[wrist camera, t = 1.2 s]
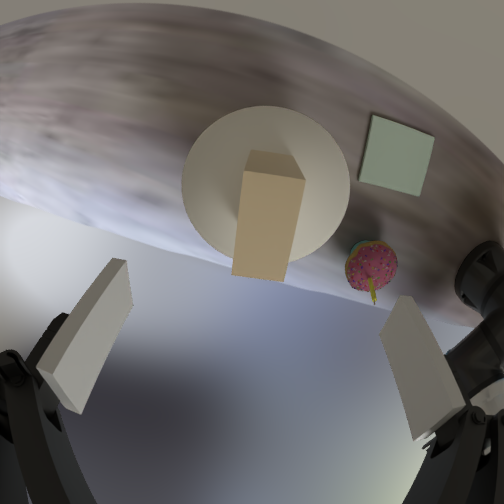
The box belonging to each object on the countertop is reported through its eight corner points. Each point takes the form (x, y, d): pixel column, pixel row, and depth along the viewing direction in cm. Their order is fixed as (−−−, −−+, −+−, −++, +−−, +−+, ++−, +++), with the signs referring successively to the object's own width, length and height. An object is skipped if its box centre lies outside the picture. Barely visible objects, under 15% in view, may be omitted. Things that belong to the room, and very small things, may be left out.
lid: (362, 124, 24) (409, 138, 15) (325, 268, 32) (343, 329, 24) (191, 98, 23) (151, 96, 15) (182, 249, 32) (154, 305, 23)
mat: (432, 137, 33) (434, 137, 32) (417, 195, 38) (419, 196, 37) (372, 114, 32) (373, 115, 32) (357, 180, 37) (359, 181, 37)
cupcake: (351, 281, 46) (369, 330, 36) (330, 245, 43) (348, 292, 33) (393, 257, 43) (421, 301, 33) (375, 219, 40) (407, 258, 30)
